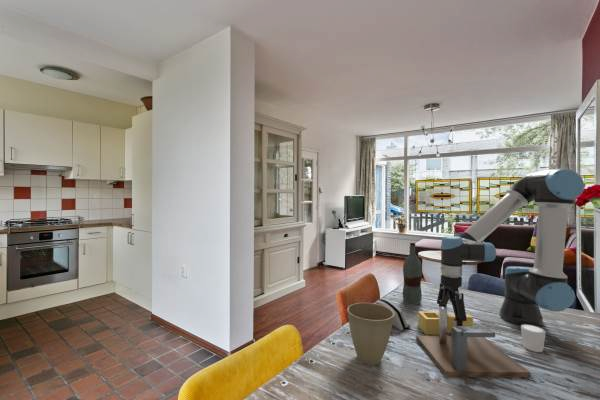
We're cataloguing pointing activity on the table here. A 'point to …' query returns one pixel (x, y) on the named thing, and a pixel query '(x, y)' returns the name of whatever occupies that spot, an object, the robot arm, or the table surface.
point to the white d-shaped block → (395, 313)
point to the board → (473, 358)
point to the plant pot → (370, 330)
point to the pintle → (443, 325)
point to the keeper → (465, 343)
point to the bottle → (412, 278)
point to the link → (431, 321)
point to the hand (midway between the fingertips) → (450, 329)
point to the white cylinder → (533, 337)
